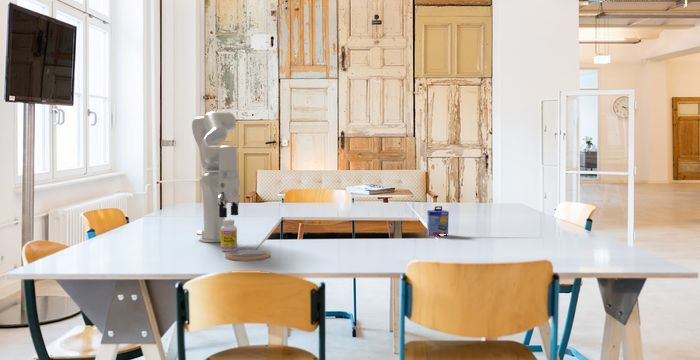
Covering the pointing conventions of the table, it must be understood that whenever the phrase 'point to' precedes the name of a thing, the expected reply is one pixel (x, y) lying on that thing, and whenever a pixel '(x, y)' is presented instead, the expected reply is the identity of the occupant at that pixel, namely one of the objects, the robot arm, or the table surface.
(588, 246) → the table surface
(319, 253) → the table surface
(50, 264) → the table surface
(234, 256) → the dish
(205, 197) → the robot arm
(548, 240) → the table surface
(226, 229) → the supplement bottle
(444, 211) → the ink cartridge box
